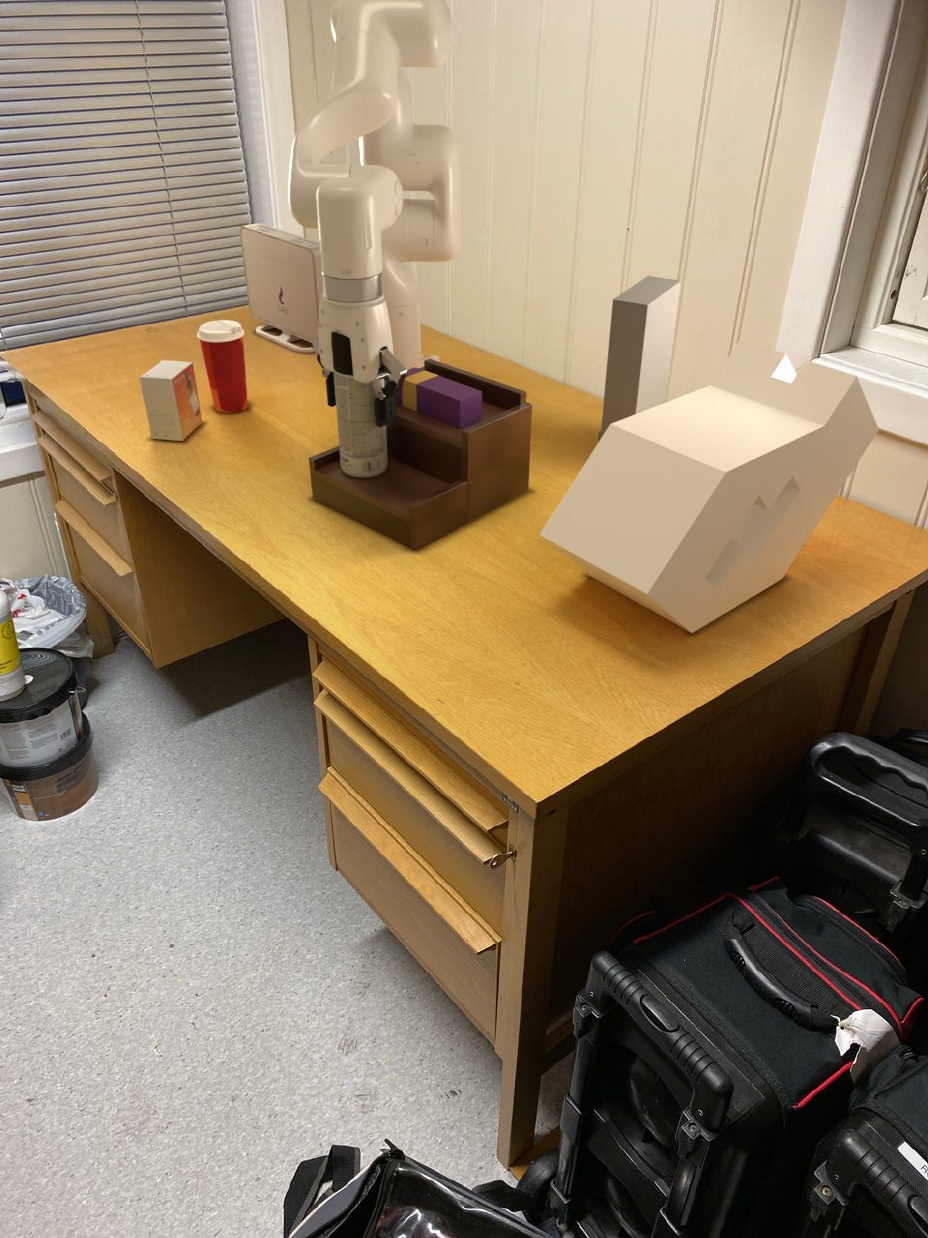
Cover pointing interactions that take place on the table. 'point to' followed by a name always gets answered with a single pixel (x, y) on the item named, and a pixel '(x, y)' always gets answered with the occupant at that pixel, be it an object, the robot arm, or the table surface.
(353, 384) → the spray can
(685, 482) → the cream angular block
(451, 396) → the purple banded block
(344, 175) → the robot arm
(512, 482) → the step rack
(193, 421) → the small box
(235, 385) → the paper cup
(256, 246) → the network device
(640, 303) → the cassette tape recorder
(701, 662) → the table surface
